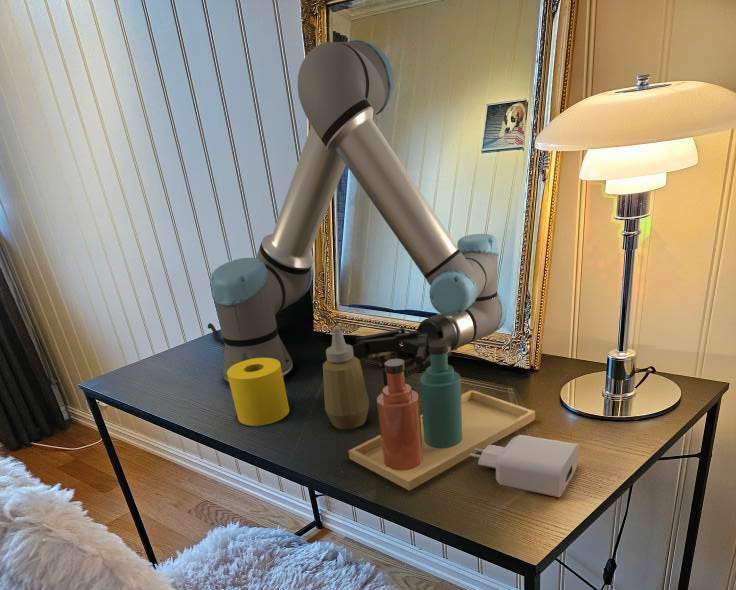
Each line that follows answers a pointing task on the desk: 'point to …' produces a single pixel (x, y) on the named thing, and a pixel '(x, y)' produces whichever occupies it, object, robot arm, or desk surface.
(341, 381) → the squeeze bottle
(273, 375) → the yellow toilet paper roll
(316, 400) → the desk surface
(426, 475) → the tray
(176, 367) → the desk surface
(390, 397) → the terracotta bottle
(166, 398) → the desk surface
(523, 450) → the charger
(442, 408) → the teal bottle
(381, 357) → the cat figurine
